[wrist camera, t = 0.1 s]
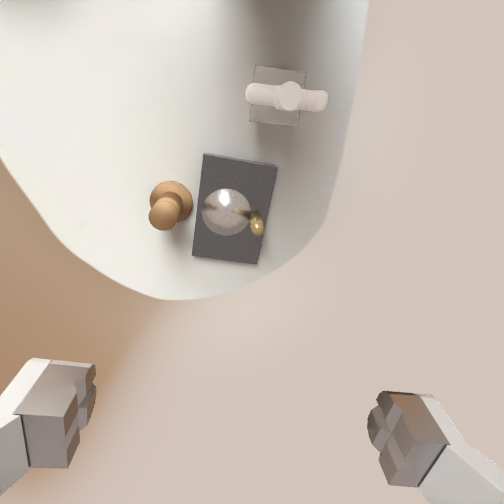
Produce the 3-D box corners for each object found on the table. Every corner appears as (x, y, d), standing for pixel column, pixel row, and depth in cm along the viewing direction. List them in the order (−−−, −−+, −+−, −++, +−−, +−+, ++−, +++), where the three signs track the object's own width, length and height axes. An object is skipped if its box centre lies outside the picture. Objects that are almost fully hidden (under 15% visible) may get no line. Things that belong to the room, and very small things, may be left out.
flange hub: (152, 177, 54) (139, 191, 46) (194, 184, 55) (188, 199, 47) (150, 217, 57) (137, 236, 49) (190, 223, 57) (184, 242, 50)
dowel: (250, 210, 55) (252, 223, 50) (261, 212, 56) (265, 224, 50) (248, 221, 56) (250, 234, 51) (259, 223, 57) (262, 236, 51)
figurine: (245, 66, 47) (251, 53, 34) (308, 74, 48) (338, 65, 35) (241, 119, 50) (244, 126, 37) (299, 126, 51) (324, 136, 38)
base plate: (204, 152, 52) (203, 154, 51) (276, 165, 54) (277, 167, 52) (192, 251, 60) (191, 255, 58) (256, 260, 61) (256, 264, 60)
